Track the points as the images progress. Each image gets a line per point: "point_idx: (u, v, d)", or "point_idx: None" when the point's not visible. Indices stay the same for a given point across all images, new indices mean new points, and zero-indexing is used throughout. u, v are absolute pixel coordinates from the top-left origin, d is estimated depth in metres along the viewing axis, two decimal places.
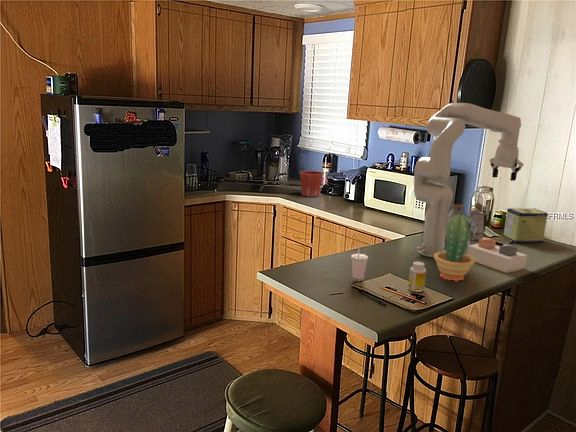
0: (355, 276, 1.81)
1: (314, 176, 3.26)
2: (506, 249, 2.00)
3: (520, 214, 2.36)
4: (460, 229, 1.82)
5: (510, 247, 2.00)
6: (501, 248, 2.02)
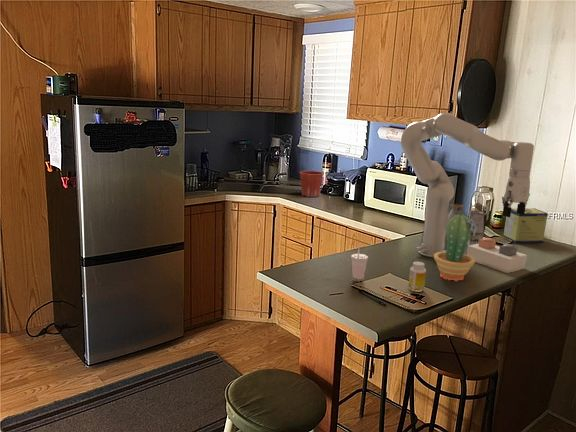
0: (355, 276, 1.81)
1: (314, 176, 3.26)
2: (506, 249, 2.00)
3: (520, 214, 2.36)
4: (460, 229, 1.82)
5: (510, 247, 2.00)
6: (501, 248, 2.02)
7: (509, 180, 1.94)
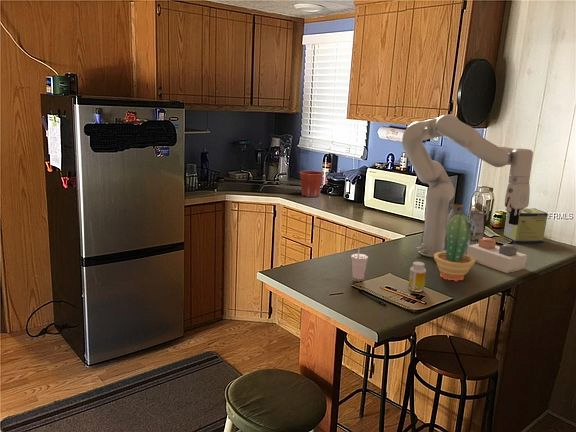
0: (355, 276, 1.81)
1: (314, 176, 3.26)
2: (506, 249, 2.00)
3: (520, 214, 2.36)
4: (460, 229, 1.82)
5: (510, 247, 2.00)
6: (501, 248, 2.02)
7: (509, 186, 1.94)
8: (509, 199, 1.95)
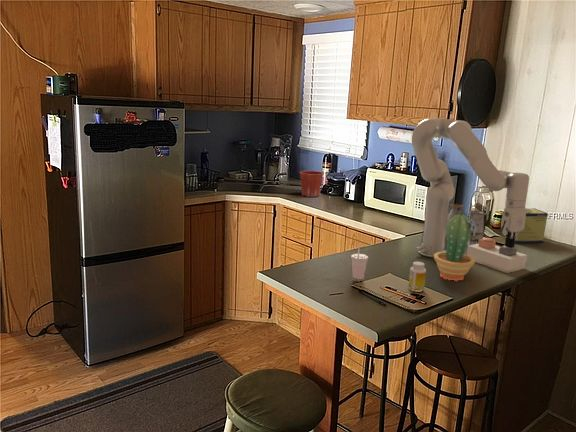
0: (355, 276, 1.81)
1: (314, 176, 3.26)
2: (506, 250, 2.00)
3: None
4: (460, 229, 1.82)
5: (510, 248, 2.00)
6: (501, 249, 2.02)
7: (505, 210, 1.97)
8: (505, 222, 1.97)
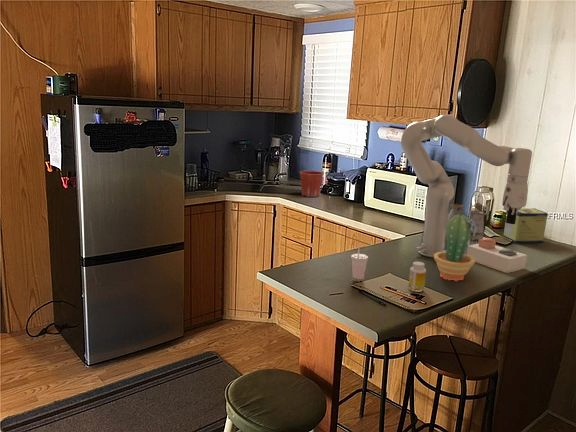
0: (355, 276, 1.81)
1: (314, 176, 3.26)
2: (505, 254, 2.01)
3: (520, 214, 2.36)
4: (460, 229, 1.82)
5: (509, 252, 2.01)
6: (500, 253, 2.03)
7: (507, 186, 1.95)
8: (507, 198, 1.96)
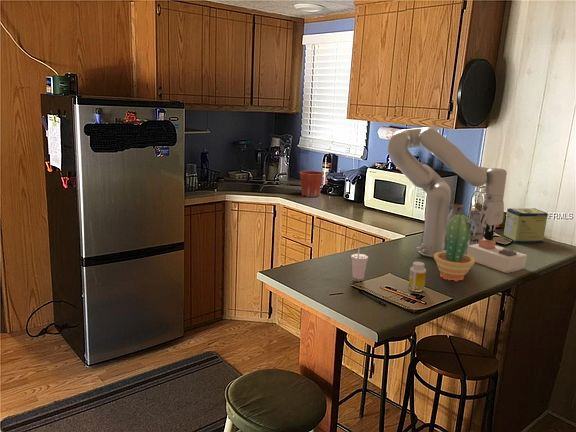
0: (355, 276, 1.81)
1: (314, 176, 3.26)
2: (505, 254, 2.01)
3: (520, 214, 2.36)
4: (460, 229, 1.82)
5: (509, 252, 2.01)
6: (500, 253, 2.03)
7: (484, 204, 2.05)
8: (484, 216, 2.05)
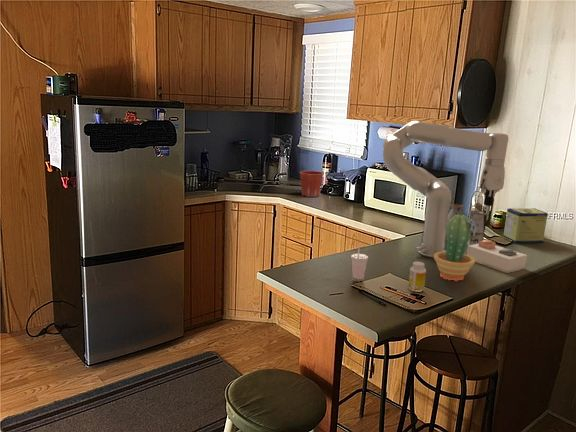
0: (355, 276, 1.81)
1: (314, 176, 3.26)
2: (505, 254, 2.01)
3: (520, 214, 2.36)
4: (460, 229, 1.82)
5: (509, 252, 2.01)
6: (500, 253, 2.03)
7: (484, 169, 2.05)
8: (484, 181, 2.06)
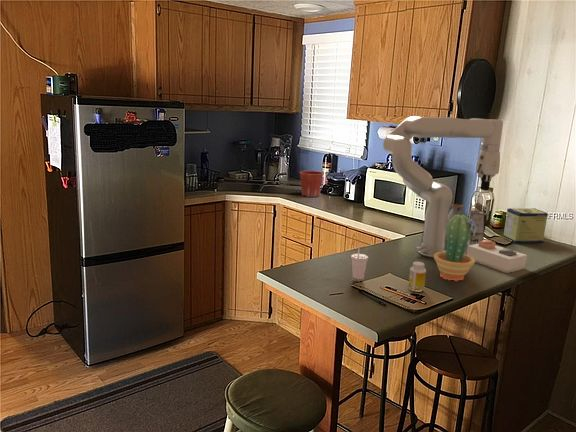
0: (355, 276, 1.81)
1: (314, 176, 3.26)
2: (505, 254, 2.01)
3: (520, 214, 2.36)
4: (460, 229, 1.82)
5: (509, 252, 2.01)
6: (500, 253, 2.03)
7: (480, 154, 2.11)
8: (481, 166, 2.11)
